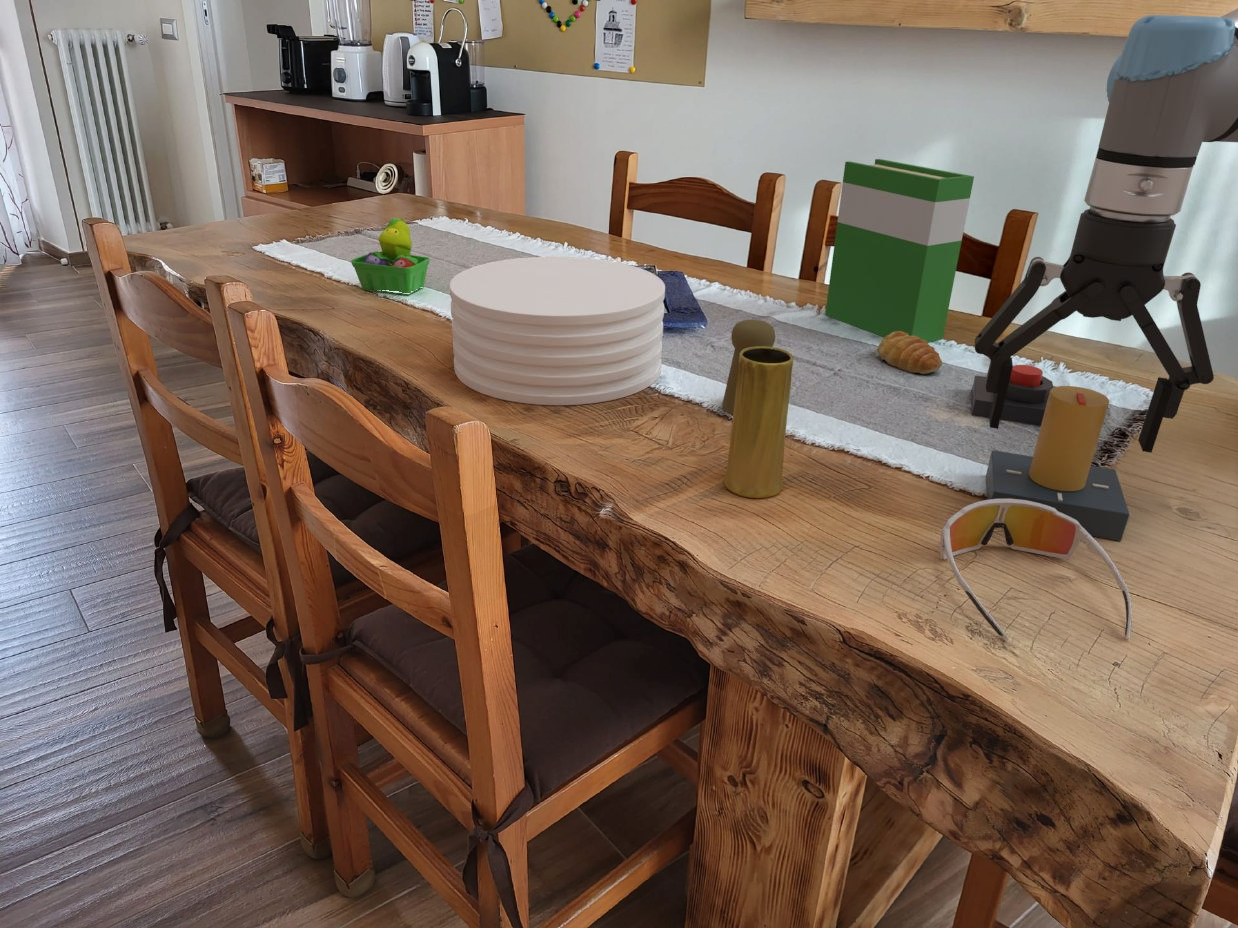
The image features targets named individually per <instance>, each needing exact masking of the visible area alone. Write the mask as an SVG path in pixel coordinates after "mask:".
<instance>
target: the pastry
mask: <svg viewBox="0 0 1238 928" xmlns="http://www.w3.org/2000/svg"><path fill="white" fill-rule="evenodd" d="M876 350H877V353H878V355H879V357H880V359H881V360H882V361H883V360H884V361H885V362H886V363H887V364H888V365H890V366H892V367H895V368H897V369H899V370H903V371H904V372H908V373H910V374H911V373H913V374H915V373H918V374H921V375H926V374H930V373H935V372H938V371H939V370H940V368H942V367H941V366H942V365H943V360H942V359H941V357H940V353H939V352H938V351H936V350H935V347H934V346H931V345H930V344H929V342H928V343H927V341H926V340H922V339H920V338H919V337H917V336H909V335H908V334H907V333H905V332H901V331H895V332H892V333H891V334H890V335H887V336H886V337H883V338H882V339H881V341H880V343H879V344H878V346H877V349H876Z"/></svg>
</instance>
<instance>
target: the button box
mask: <svg viewBox="0 0 1238 928" xmlns="http://www.w3.org/2000/svg"><path fill="white" fill-rule="evenodd" d="M986 378H987V376H982V375H974V379H973V383H972V388H971V416H973V417H978V418H986V419H989V417H990V413H991V408H992V404H993V400H994V396H995V393H990V392H987V391H986ZM1054 387H1057V386H1055V385H1054V384H1053V381H1052V380H1051V379H1049V378H1048V377H1045V375H1042V378H1041V382H1040V386H1023V385H1019V384H1015V383H1012V382H1011V381H1009V385H1008V389H1007V393H1006V397H1005V401H1004V406H1003V410H1002V414H1001V418H1000V421H1005V422H1006V421H1007V422H1013V423H1020V424H1026V425H1032V426H1033V425H1034V426H1040V427H1041V424H1042V420H1043V416H1044V412H1045V408H1046V404H1047V400H1048V397H1049V393H1050V390H1051V389H1052V388H1054Z"/></svg>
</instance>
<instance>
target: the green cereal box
mask: <svg viewBox="0 0 1238 928" xmlns="http://www.w3.org/2000/svg"><path fill="white" fill-rule="evenodd" d="M974 179H975V176H974V175H969V174H963V173H958V172H952V171H947V170H942V169H936V168H931V167H926V166H922V165H921V166H920V165H915V164H909V163H904V162H898V161H893V160H889V159H888V160H887V159H883V158H874V164H865V163H860V162H856V161H849V160H847V161H845V163H844V169H843V177H842V183H841V184H842V186H841V191H840V201H839V207H838V214H837V222H836V230H835V238H834V244H833V245H834V246H833V252H832V258H831V259H832V260H831V267H830V273H829V274H830V275H829V281H828V282H829V283H828V289H827V290H828V291H827V297H826V305H825V312H824V315H825V316H827V317H829V318H831V319H834V320H837V321H840V322H842V323H846V324H848V325H850V326H853V327H855V328H859V329H861V330H864V331H866V332H869V333H872V334H875V335H877V336H880V337H883V338H884V337H886V336H887V335H890V334H891V333H892V332H895V331H901V332H905V333H907V334H908V335H909V336H917V337H919V338H920V339H922V340H926V341H927V343H928V344H929V343H931V342H935V341H941V340H943V338H944V334H945V330H946V324H947V320H948V319H947V318H948V313H949V308H950V303H951V297H952V293H953V287H954V283H955V278H956V272H957V267H958V262H959V257H960V251H961V246H962V243H963V237H964V236H963V235H964V230H965V226H966V221H967V215H968V210H969V206H970V205H969V204H970V199H971V195H972V189H973V185H974Z"/></svg>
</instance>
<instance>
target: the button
mask: <svg viewBox="0 0 1238 928" xmlns="http://www.w3.org/2000/svg"><path fill="white" fill-rule="evenodd" d="M1043 373H1044V372H1043V370H1042V369H1041V368H1039V367H1037V366H1033V365H1028V364H1013V368H1012V372H1011V376H1010V381H1011V382H1012V383H1015V384H1019V385H1023V386H1040V382H1041V378H1042V376H1043Z"/></svg>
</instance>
